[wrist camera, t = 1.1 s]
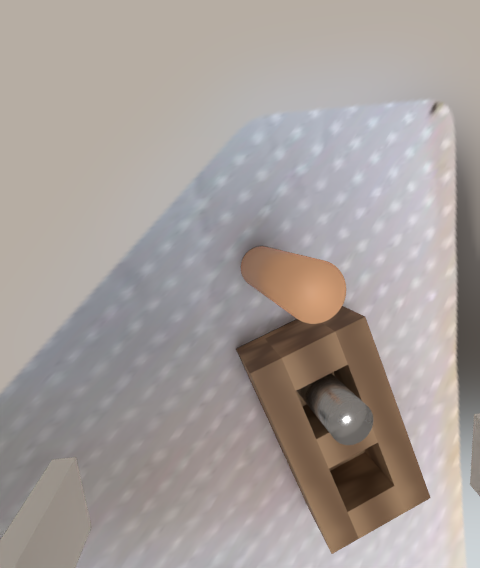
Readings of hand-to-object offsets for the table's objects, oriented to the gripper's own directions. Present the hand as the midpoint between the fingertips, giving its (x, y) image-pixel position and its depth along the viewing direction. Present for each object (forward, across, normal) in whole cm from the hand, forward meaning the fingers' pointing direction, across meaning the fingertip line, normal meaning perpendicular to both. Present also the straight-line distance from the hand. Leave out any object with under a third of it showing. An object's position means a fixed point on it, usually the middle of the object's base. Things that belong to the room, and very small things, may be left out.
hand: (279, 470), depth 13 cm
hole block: (+29, -8, +16) cm, 34 cm away
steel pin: (+28, -6, +12) cm, 31 cm away
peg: (+29, -2, -1) cm, 29 cm away
